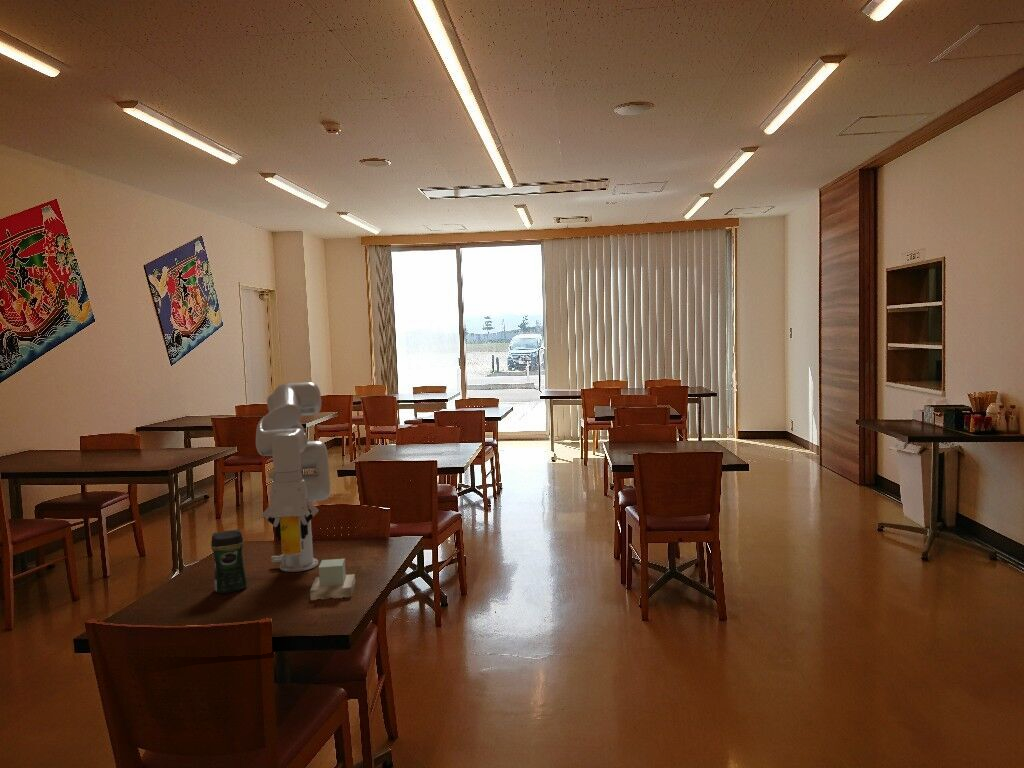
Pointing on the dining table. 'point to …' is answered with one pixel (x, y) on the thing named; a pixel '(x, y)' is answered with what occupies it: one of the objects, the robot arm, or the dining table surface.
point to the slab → (333, 589)
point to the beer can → (291, 533)
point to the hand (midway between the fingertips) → (292, 537)
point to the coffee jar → (228, 561)
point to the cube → (332, 572)
